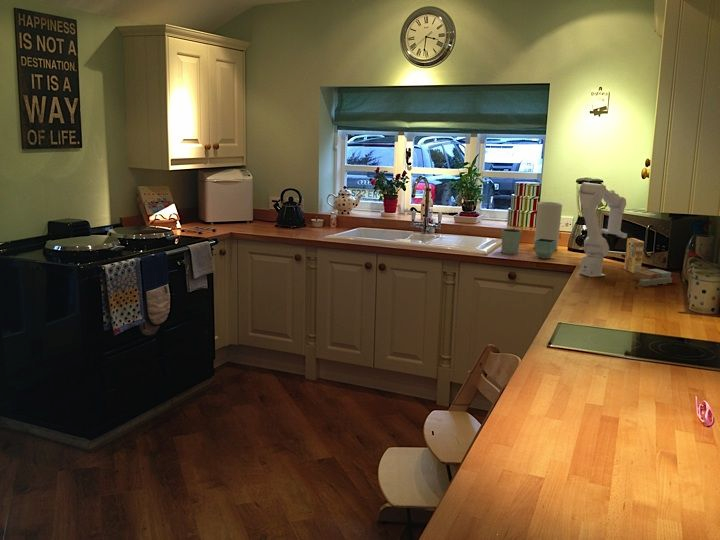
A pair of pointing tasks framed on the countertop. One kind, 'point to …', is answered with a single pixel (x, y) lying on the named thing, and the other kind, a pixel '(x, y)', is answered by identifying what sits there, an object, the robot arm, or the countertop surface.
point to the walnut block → (644, 275)
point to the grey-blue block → (660, 273)
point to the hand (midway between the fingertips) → (611, 250)
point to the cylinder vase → (548, 221)
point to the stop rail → (655, 281)
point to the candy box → (634, 255)
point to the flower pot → (544, 247)
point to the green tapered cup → (510, 241)
